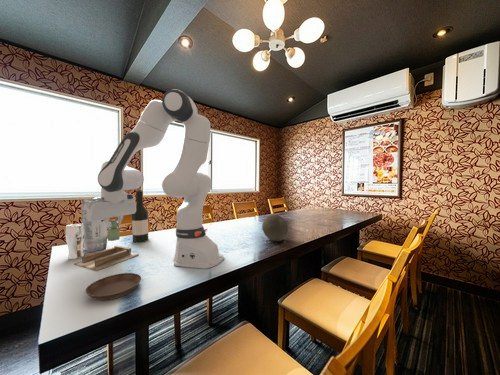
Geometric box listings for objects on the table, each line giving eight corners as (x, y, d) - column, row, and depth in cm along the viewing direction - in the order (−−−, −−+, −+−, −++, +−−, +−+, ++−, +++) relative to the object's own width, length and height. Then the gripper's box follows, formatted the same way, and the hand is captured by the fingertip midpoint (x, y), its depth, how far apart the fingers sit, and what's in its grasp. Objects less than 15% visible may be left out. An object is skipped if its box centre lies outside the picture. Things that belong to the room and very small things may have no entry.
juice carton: (87, 253, 98) (85, 198, 97) (81, 249, 104) (79, 197, 103) (109, 248, 105) (107, 197, 104) (101, 245, 111) (100, 196, 110)
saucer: (134, 275, 75) (134, 268, 75) (147, 291, 64) (146, 283, 64) (83, 290, 65) (83, 282, 65) (88, 312, 54) (87, 302, 54)
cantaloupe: (272, 236, 125) (272, 212, 125) (292, 241, 116) (292, 215, 115) (257, 241, 115) (257, 215, 115) (277, 247, 106) (277, 218, 105)
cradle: (138, 255, 95) (138, 247, 95) (96, 270, 79) (96, 261, 79) (117, 250, 102) (116, 243, 102) (74, 264, 85) (74, 255, 85)
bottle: (121, 238, 94) (121, 219, 94) (111, 241, 90) (111, 221, 90) (115, 237, 96) (115, 218, 96) (105, 239, 92) (105, 220, 91)
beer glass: (89, 255, 96) (88, 224, 95) (72, 260, 89) (71, 227, 89) (80, 253, 98) (78, 223, 98) (62, 258, 92) (61, 226, 91)
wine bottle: (151, 238, 123) (150, 189, 122) (142, 242, 115) (141, 190, 114) (138, 238, 124) (137, 189, 123) (129, 242, 116) (127, 190, 115)
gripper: (91, 198, 81) (92, 232, 82) (137, 195, 100) (138, 222, 101) (82, 198, 84) (83, 231, 84) (129, 194, 103) (130, 221, 103)
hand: (113, 226), depth 93 cm, fingers closed on bottle, 2 cm apart
